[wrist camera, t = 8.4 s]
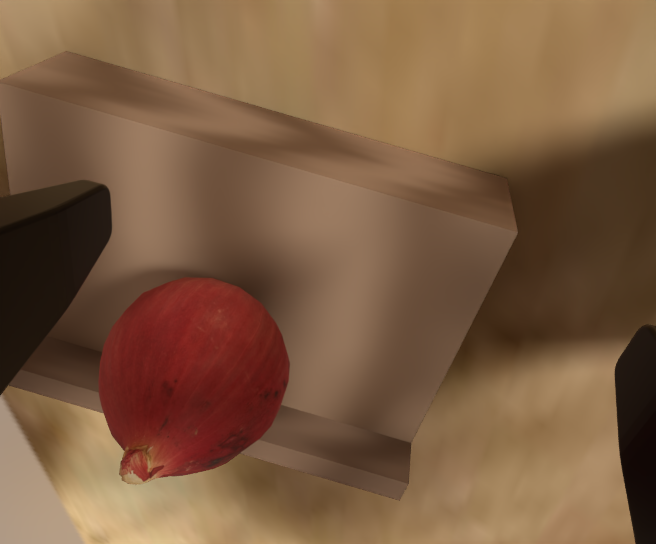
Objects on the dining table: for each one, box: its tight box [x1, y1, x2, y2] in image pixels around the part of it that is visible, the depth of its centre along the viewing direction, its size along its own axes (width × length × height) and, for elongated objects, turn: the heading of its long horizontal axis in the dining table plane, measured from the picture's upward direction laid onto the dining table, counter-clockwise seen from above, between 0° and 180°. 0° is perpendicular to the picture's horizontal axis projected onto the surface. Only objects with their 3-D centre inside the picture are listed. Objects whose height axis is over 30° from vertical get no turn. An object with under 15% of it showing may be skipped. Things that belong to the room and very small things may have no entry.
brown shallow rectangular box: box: [0, 51, 518, 501], centre depth 22 cm, size 17×12×6 cm
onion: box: [98, 277, 290, 484], centre depth 18 cm, size 6×6×8 cm
